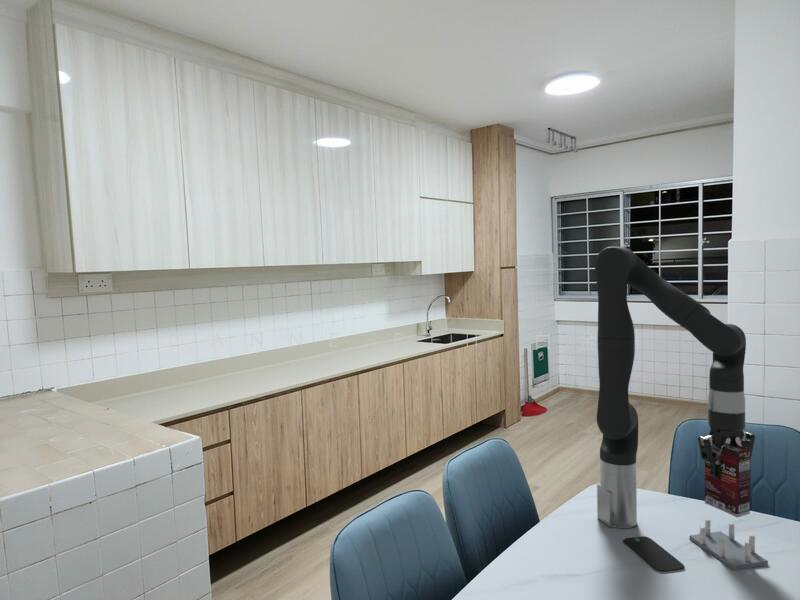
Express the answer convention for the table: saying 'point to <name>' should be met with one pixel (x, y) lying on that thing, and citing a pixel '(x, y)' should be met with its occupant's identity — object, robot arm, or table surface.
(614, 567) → the table surface
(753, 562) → the grey peg holder
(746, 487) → the supplement box
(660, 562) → the smartphone
